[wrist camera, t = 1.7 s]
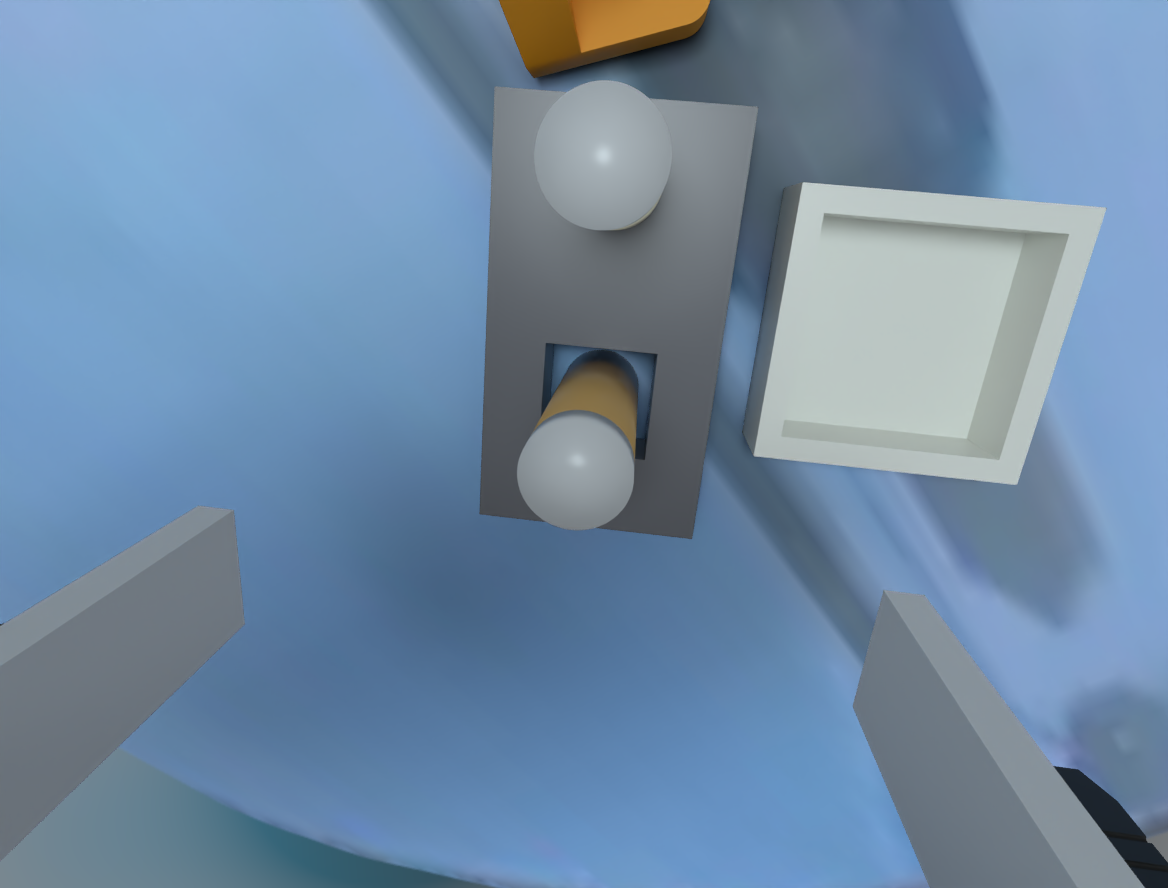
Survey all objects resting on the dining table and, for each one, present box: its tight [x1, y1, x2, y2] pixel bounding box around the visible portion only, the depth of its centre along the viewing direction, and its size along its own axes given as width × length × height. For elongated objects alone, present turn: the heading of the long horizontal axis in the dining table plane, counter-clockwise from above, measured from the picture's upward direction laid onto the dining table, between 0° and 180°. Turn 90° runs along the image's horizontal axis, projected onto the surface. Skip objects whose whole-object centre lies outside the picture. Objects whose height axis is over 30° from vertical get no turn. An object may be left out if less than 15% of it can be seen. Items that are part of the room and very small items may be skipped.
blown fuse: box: [517, 350, 638, 530], centre depth 25 cm, size 4×4×12 cm
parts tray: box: [742, 182, 1106, 485], centre depth 27 cm, size 11×11×4 cm
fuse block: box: [480, 80, 758, 539], centre depth 24 cm, size 18×10×12 cm, turn 175°
